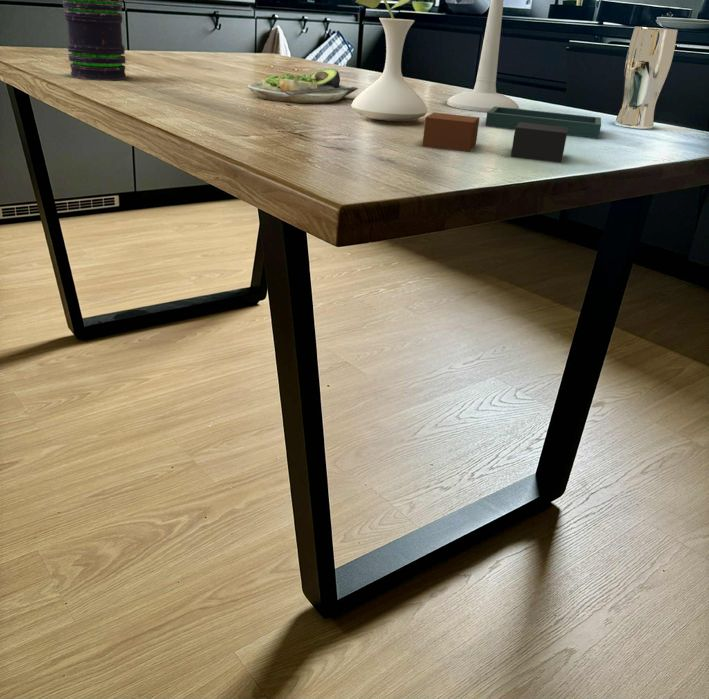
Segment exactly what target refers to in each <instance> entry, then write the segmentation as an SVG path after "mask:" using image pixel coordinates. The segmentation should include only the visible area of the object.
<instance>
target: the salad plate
mask: <svg viewBox="0 0 709 699" xmlns="http://www.w3.org/2000/svg"><path fill="white" fill-rule="evenodd" d="M247 88H248V90H249V91H250V92H251V93H253V94H254V95H255V96H256V97H257V98H259V99H263V100H268V101H276V102H278V101H279V102H289V103H298V104H327V103H328V104H329V103H335V102H337V101H341V100H343V99H344V98H345V97H347V96H348V95H350V94H352V93H353V92H356V91H357V90H359V87H355V86H351V87H350V86H349V87H348V86H346V85H341V76H340V73H339V71H338V69H336V68H325V69H320V70H317V71H314V72H313V73H311V74H309V75H308V74H307V75H306V74H302V75H297V74H291V73H289V72H286V73H284V74H280V75H279V74H274V75H273V74H272V75H271V76H269V77H266V78H264V79H263V80H259V81H257V82H255V83H251V84H248V85H247Z"/></svg>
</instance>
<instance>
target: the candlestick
mask: <svg viewBox="0 0 709 699" xmlns="http://www.w3.org/2000/svg"><path fill="white" fill-rule="evenodd" d="M504 1H505V0H490V3H489V8H488V14H487V19H486V26H485V31H484V37H483V43H482V47H481V53H480V58H479V64H478V69H477V75H476V80H475V84H474V87H473V90H467V91H463V92H460V93H457V94H454V95H453V96H451V97H449V98H448V99H447V101H446V104H447V106H450V107H452V108H457V109H461V110H468V111H475V112H483V113H487V112H488V111H490V110H491V109H492V108H493V107H494V106H496V107H505V108H515V109H520V107H519V105H518V103H517V102H516V101H514V100H513V99H512V98H510V97H509V96H506V95H504V94H502V93H499V92H497V85H496V84H497V75H498V74H497V73H498V64H499V62H498V61H499V52H500V42H501V31H502V20H503V10H504Z"/></svg>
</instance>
